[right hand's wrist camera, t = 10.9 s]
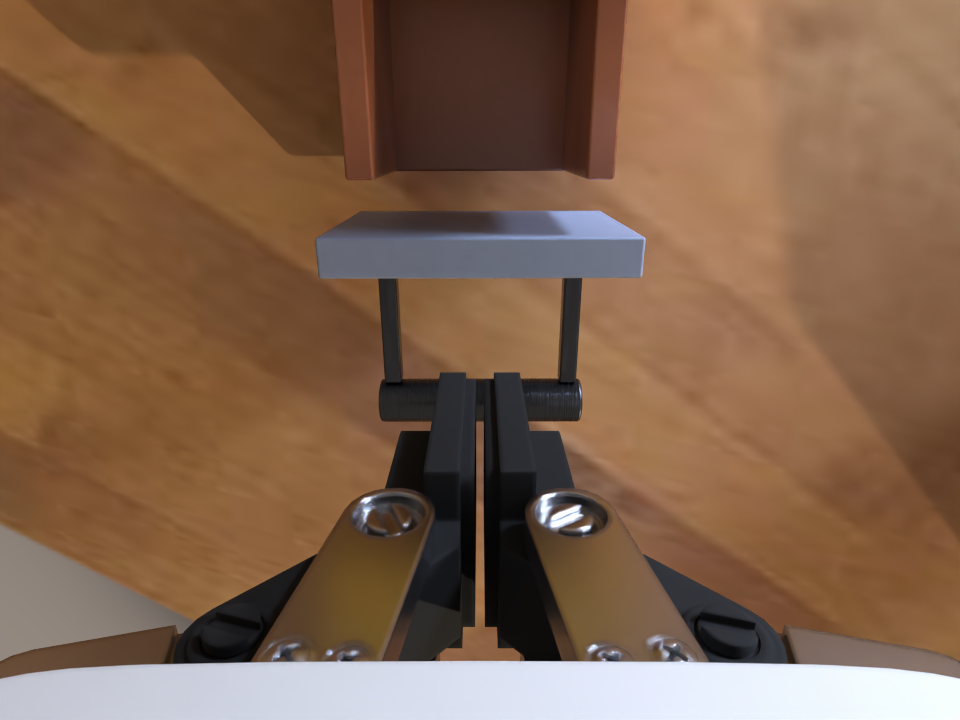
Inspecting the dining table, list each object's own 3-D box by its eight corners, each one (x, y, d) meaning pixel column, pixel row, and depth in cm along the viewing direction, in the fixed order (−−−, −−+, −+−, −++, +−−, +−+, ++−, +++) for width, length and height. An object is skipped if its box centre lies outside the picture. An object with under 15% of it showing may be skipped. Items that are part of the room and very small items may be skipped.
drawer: (589, 379, 25) (624, 457, 19) (371, 379, 25) (336, 457, 19) (643, -396, 17) (740, -713, 10) (314, -395, 17) (216, -712, 11)
